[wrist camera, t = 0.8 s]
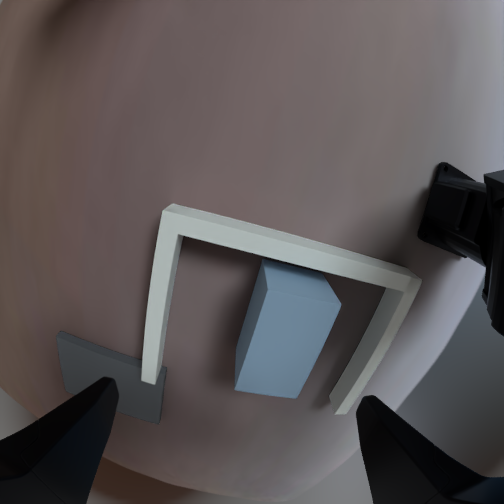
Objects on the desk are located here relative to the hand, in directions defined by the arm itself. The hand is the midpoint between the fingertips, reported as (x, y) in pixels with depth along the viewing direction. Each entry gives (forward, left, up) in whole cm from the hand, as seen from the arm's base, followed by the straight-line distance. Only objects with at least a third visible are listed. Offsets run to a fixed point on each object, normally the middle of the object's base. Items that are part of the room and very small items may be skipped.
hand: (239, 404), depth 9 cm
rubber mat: (+10, +15, -12) cm, 21 cm away
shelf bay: (-3, +3, -12) cm, 13 cm away
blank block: (-3, +3, -12) cm, 13 cm away
